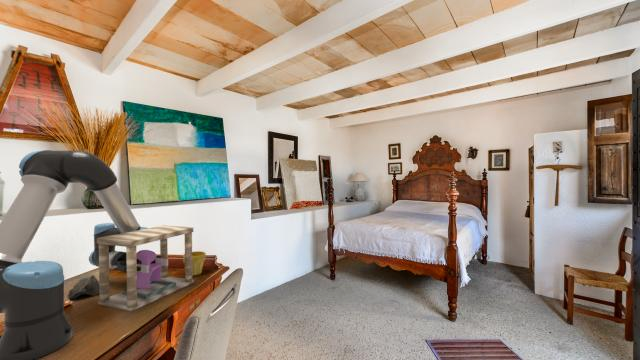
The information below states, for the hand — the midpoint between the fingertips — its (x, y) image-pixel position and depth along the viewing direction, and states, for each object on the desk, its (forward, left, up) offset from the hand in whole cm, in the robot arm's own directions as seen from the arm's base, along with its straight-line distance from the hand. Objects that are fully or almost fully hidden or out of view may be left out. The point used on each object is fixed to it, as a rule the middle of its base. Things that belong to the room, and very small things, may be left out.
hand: (158, 265), depth 113 cm
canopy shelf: (0, +4, -11) cm, 12 cm away
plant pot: (+24, +4, -12) cm, 27 cm away
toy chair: (0, +5, -8) cm, 9 cm away
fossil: (-11, +28, -12) cm, 32 cm away
